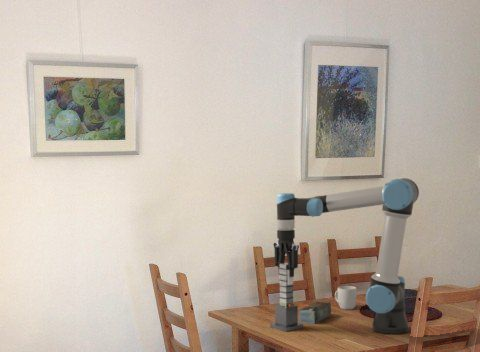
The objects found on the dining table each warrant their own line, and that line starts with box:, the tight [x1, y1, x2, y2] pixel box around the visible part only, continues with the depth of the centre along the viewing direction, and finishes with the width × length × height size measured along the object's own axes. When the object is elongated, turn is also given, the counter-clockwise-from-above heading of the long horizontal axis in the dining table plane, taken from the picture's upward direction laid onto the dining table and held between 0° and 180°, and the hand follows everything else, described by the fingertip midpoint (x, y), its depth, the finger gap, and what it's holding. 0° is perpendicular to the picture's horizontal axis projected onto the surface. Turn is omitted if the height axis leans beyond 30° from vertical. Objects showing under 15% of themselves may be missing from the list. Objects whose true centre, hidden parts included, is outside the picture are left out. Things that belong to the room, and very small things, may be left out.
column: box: [278, 262, 294, 307], centre depth 307 cm, size 4×4×20 cm
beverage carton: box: [298, 301, 332, 325], centre depth 324 cm, size 8×19×7 cm, turn 150°
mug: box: [334, 285, 358, 310], centre depth 346 cm, size 13×9×10 cm
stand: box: [269, 302, 304, 332], centre depth 308 cm, size 10×10×11 cm
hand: (286, 283), depth 307 cm, fingers closed on column, 4 cm apart
